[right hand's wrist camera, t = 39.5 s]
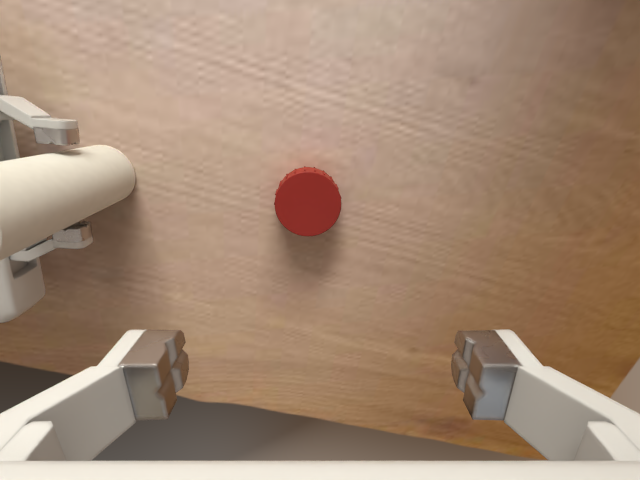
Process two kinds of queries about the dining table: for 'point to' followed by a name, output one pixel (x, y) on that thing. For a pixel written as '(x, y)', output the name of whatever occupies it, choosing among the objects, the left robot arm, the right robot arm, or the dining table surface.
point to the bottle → (58, 192)
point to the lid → (307, 201)
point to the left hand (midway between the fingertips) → (81, 186)
